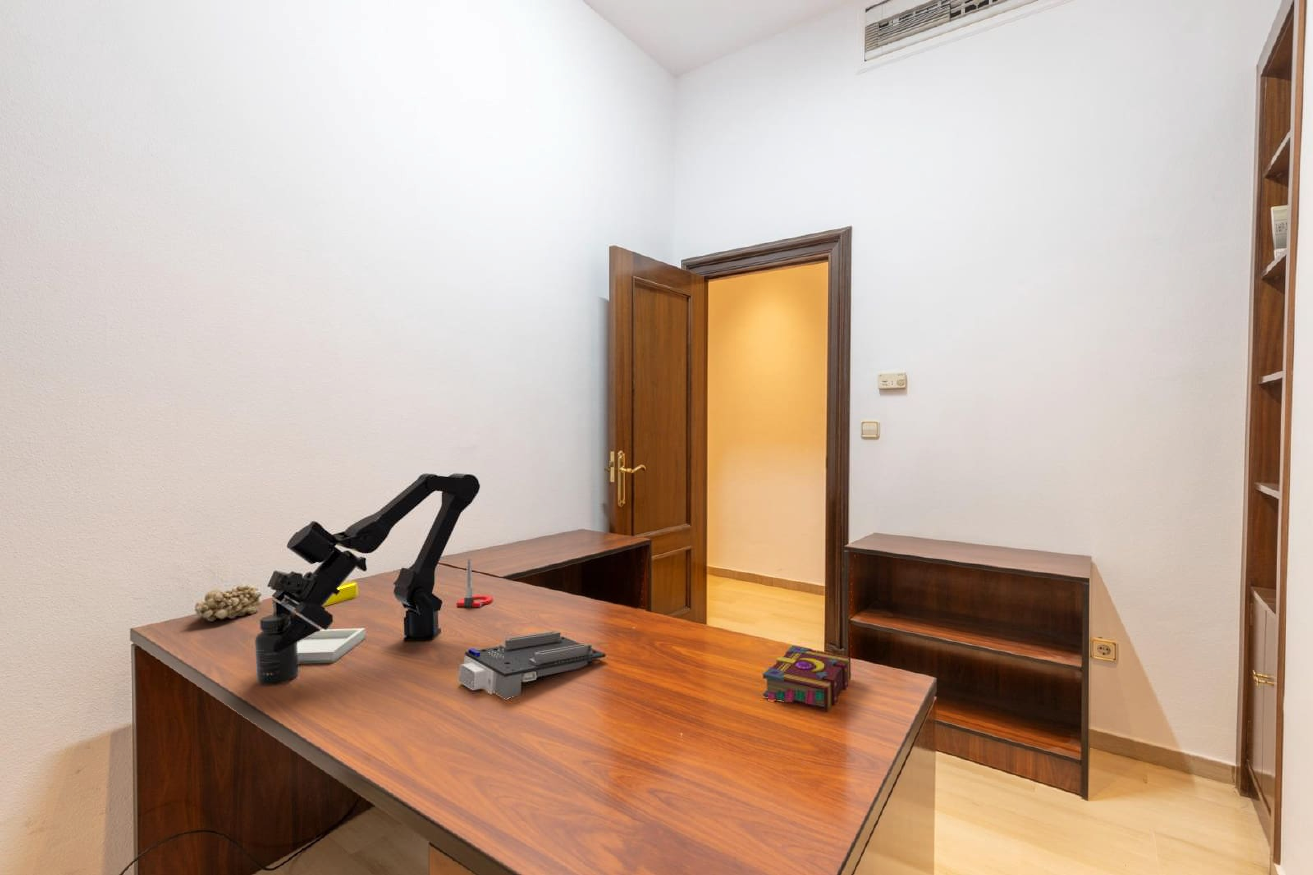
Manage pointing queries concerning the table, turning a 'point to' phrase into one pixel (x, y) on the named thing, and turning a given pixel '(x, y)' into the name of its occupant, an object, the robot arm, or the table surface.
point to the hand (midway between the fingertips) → (268, 646)
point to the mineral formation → (229, 603)
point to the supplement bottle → (268, 662)
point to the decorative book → (808, 678)
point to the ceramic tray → (328, 645)
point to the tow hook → (469, 599)
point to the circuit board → (522, 662)
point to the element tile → (344, 593)
